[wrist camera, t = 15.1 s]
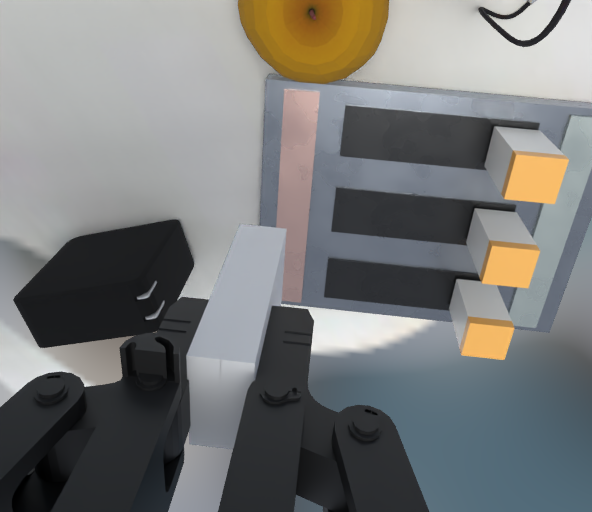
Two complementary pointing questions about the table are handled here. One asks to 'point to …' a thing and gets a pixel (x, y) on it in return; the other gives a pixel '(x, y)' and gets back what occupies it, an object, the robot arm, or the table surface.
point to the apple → (314, 35)
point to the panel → (410, 194)
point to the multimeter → (526, 43)
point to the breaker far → (480, 320)
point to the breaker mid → (502, 248)
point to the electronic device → (107, 285)
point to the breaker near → (525, 165)
